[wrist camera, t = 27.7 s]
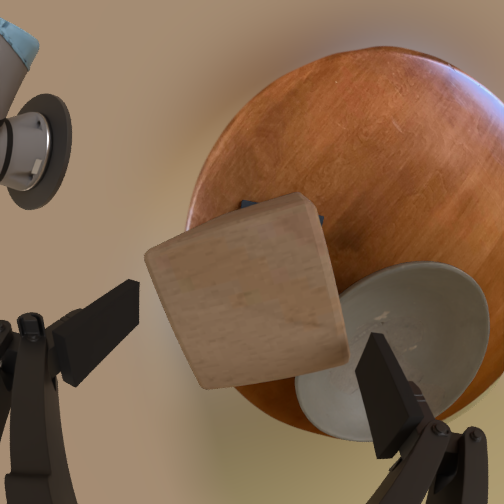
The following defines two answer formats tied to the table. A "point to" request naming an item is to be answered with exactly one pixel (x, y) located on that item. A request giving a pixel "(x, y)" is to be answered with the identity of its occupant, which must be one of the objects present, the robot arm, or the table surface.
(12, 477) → the robot arm
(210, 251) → the wooden block
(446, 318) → the bowl
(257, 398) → the table surface
